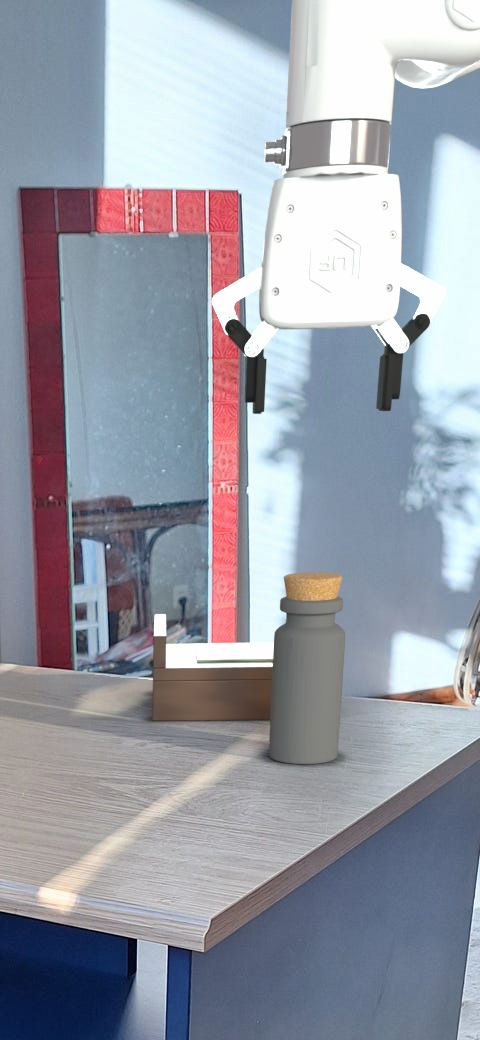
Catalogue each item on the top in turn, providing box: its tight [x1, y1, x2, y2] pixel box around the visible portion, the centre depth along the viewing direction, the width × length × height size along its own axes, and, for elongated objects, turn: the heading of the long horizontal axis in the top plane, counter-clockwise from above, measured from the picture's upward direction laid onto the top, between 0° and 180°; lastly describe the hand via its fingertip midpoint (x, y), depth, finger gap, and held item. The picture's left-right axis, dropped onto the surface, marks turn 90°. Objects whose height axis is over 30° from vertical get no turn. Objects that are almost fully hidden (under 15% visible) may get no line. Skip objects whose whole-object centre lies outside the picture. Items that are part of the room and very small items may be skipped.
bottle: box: [268, 571, 346, 765], centre depth 123 cm, size 6×6×15 cm
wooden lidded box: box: [152, 613, 274, 722], centre depth 145 cm, size 16×14×8 cm
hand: (320, 411), depth 114 cm, fingers open, 9 cm apart
